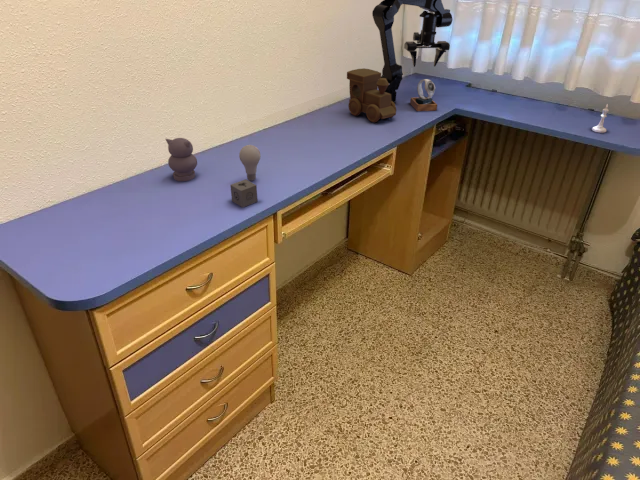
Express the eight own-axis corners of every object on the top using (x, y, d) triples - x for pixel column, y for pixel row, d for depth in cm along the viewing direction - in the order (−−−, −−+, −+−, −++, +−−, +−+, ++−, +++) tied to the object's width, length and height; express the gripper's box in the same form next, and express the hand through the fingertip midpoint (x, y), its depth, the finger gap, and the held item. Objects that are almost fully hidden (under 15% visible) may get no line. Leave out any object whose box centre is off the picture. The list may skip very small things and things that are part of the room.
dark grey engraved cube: (246, 195, 136) (245, 179, 133) (257, 201, 133) (256, 185, 130) (232, 201, 133) (230, 184, 130) (242, 207, 130) (241, 190, 127)
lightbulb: (244, 186, 140) (241, 150, 135) (239, 178, 145) (235, 143, 139) (264, 183, 143) (262, 147, 137) (258, 175, 147) (256, 140, 141)
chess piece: (592, 131, 182) (600, 105, 177) (591, 127, 186) (599, 101, 181) (606, 133, 181) (615, 106, 175) (605, 129, 185) (614, 103, 179)
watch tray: (417, 111, 201) (417, 104, 200) (409, 103, 210) (410, 97, 209) (436, 110, 202) (437, 104, 201) (428, 103, 211) (429, 97, 210)
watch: (425, 109, 202) (429, 82, 196) (412, 104, 207) (415, 78, 202) (435, 107, 205) (438, 80, 199) (421, 102, 210) (424, 76, 204)
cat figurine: (203, 172, 148) (198, 135, 142) (192, 183, 142) (186, 144, 135) (178, 169, 150) (172, 132, 143) (165, 180, 143) (158, 142, 137)
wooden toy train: (343, 113, 198) (344, 71, 190) (363, 107, 205) (365, 67, 196) (378, 125, 186) (381, 81, 177) (398, 119, 192) (402, 76, 183)
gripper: (443, 25, 212) (438, 62, 221) (402, 25, 210) (399, 62, 219) (452, 29, 203) (447, 67, 211) (409, 29, 201) (405, 68, 209)
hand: (424, 66), depth 213 cm, fingers open, 9 cm apart
